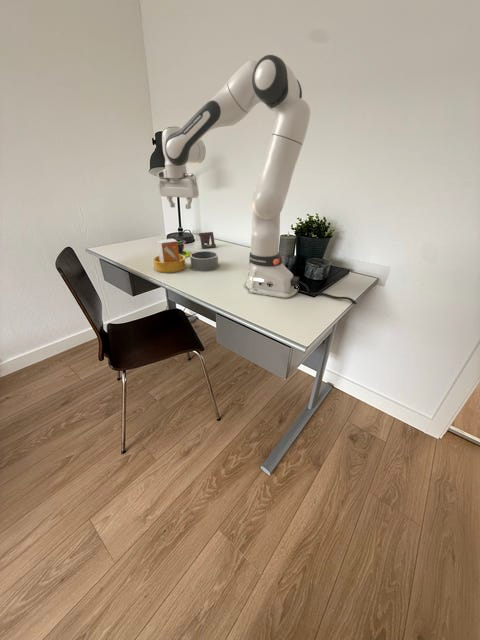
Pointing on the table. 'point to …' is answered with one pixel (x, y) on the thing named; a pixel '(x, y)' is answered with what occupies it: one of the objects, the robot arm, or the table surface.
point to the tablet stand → (207, 239)
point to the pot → (204, 260)
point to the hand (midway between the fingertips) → (180, 208)
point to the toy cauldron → (182, 247)
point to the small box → (168, 250)
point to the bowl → (169, 265)
